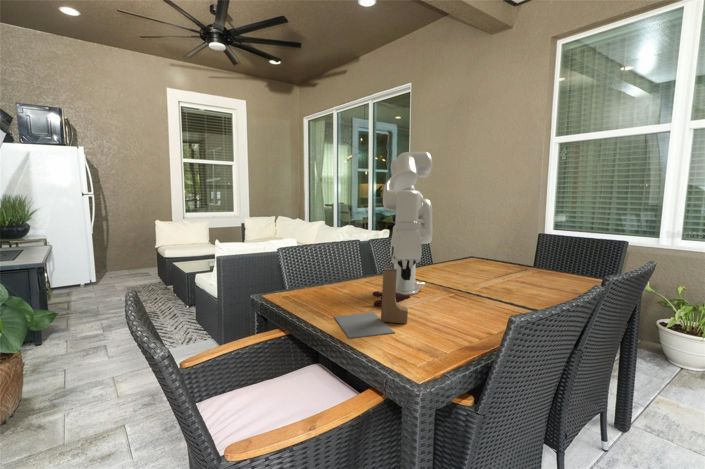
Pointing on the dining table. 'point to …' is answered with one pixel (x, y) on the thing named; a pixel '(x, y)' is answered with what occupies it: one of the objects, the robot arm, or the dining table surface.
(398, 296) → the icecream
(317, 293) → the dining table surface
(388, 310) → the wooden block
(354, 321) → the mat
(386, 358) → the dining table surface
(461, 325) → the dining table surface
